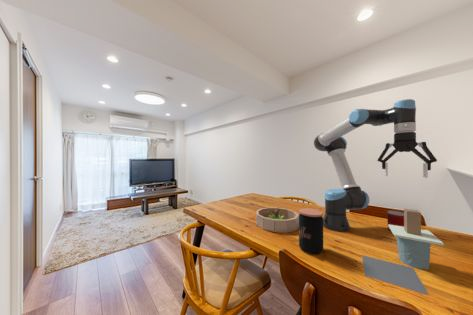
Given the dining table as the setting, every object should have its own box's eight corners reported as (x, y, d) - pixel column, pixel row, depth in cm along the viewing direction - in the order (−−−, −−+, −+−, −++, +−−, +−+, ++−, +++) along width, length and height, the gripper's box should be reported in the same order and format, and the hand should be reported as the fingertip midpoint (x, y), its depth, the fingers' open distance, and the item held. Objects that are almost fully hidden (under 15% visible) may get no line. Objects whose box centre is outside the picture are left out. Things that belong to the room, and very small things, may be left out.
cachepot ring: (249, 225, 109) (249, 214, 110) (266, 214, 132) (266, 205, 132) (291, 236, 94) (291, 223, 95) (302, 221, 117) (302, 211, 117)
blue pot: (436, 275, 63) (436, 242, 63) (399, 266, 68) (399, 236, 68) (425, 261, 71) (424, 232, 72) (393, 254, 77) (392, 227, 77)
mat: (364, 277, 62) (364, 275, 62) (362, 256, 75) (362, 255, 75) (429, 297, 53) (429, 295, 53) (413, 269, 66) (412, 267, 66)
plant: (257, 228, 107) (257, 210, 107) (265, 218, 125) (265, 203, 125) (290, 234, 98) (290, 214, 99) (293, 222, 116) (293, 206, 116)
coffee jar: (295, 244, 86) (295, 208, 86) (315, 243, 87) (315, 207, 87) (305, 256, 75) (305, 215, 76) (328, 254, 76) (328, 214, 76)
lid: (395, 236, 68) (394, 212, 68) (388, 225, 79) (387, 204, 79) (443, 245, 61) (443, 218, 61) (428, 232, 72) (428, 209, 72)
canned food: (409, 234, 97) (409, 215, 98) (393, 233, 99) (393, 214, 99) (399, 228, 105) (399, 211, 105) (384, 227, 107) (384, 210, 107)
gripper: (372, 133, 86) (372, 175, 86) (447, 128, 72) (448, 179, 72) (371, 135, 92) (371, 174, 92) (440, 131, 78) (440, 177, 78)
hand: (404, 176), depth 82 cm, fingers open, 13 cm apart
